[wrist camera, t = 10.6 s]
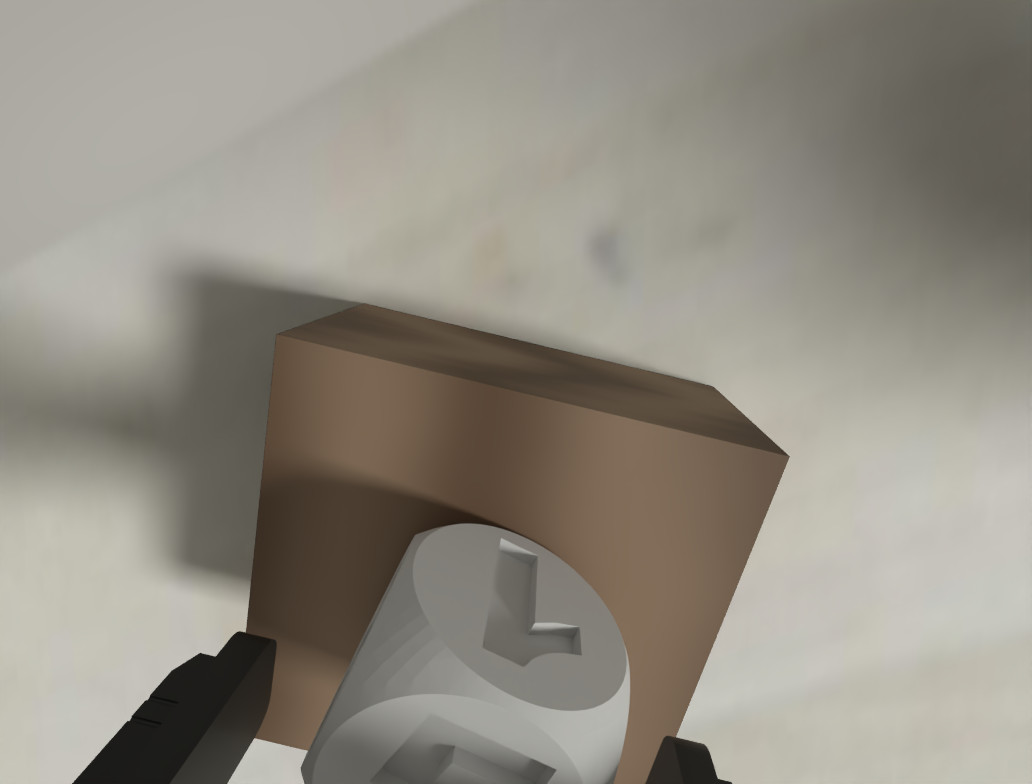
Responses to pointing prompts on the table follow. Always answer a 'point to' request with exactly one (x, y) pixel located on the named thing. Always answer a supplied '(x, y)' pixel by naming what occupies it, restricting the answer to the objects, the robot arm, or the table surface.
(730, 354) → the table surface
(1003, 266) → the table surface
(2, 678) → the table surface
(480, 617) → the die
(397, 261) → the table surface
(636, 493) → the pedestal
